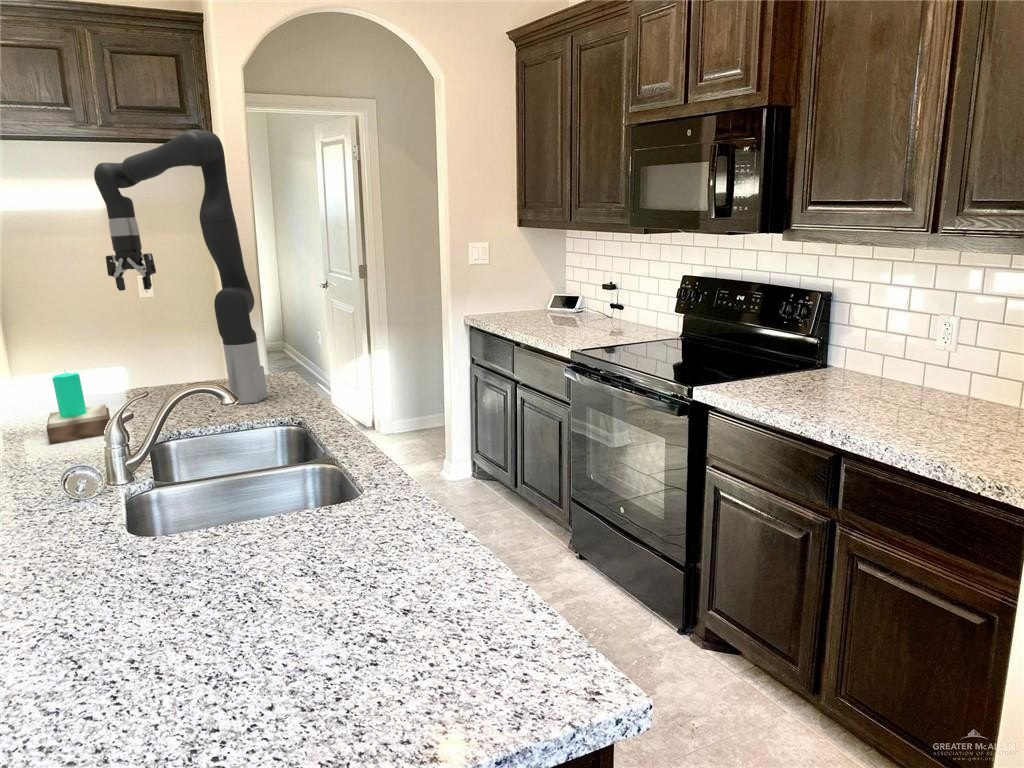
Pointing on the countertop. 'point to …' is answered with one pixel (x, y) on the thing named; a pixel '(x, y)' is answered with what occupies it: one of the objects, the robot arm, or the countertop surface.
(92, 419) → the plinth
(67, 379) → the candle
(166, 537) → the countertop surface
